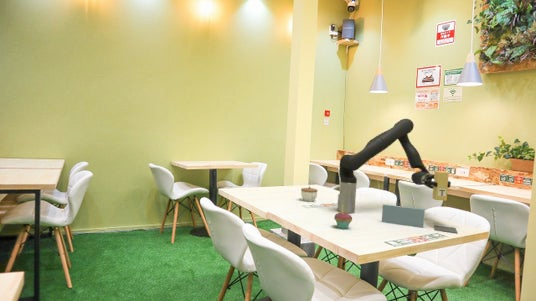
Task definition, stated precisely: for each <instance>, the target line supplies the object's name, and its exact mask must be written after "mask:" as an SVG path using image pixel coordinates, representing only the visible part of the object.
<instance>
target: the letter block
mask: <svg viewBox="0 0 536 301" xmlns="http://www.w3.org/2000/svg"><path fill="white" fill-rule="evenodd" d="M433 174H434V182H437V183H438V185H437V187H434V186H433V189H432V199H433V200H435V201H445V202H446V201H447V199H448V198H447V197H448V188H447V187H448V181H449V175H450V174H449V172H447V171H442V170H441V171H440V170H435V171H434V173H433Z"/></svg>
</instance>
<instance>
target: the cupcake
mask: <svg viewBox="0 0 536 301" xmlns="http://www.w3.org/2000/svg"><path fill="white" fill-rule="evenodd" d="M333 219H334V220H335V222H336V226H337V228H339V229H343V230H345V229H346V230H347V229H349V225H350V224H351V223H352V221H353V217H352V215H350V213H345V212H343V203H342V212H336V213H335V215H334V218H333Z"/></svg>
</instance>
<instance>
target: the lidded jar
mask: <svg viewBox="0 0 536 301" xmlns="http://www.w3.org/2000/svg"><path fill="white" fill-rule="evenodd" d="M300 190H301V191H300V195H301V198H302V199H303V201H304V202H309V203H312V202H314V201H315V200H316V198H317V197H318V196H317V195H318V189H316V188H312V187H311V186H308V187H302V188H301V189H300Z"/></svg>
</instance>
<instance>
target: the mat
mask: <svg viewBox="0 0 536 301" xmlns="http://www.w3.org/2000/svg"><path fill="white" fill-rule="evenodd" d="M433 229H434V231H437V232H444V233H445V232H446V233H451V234H452V233H453V234H458V230H457V228H456V227H452V226H443V225H436V224H433Z"/></svg>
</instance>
